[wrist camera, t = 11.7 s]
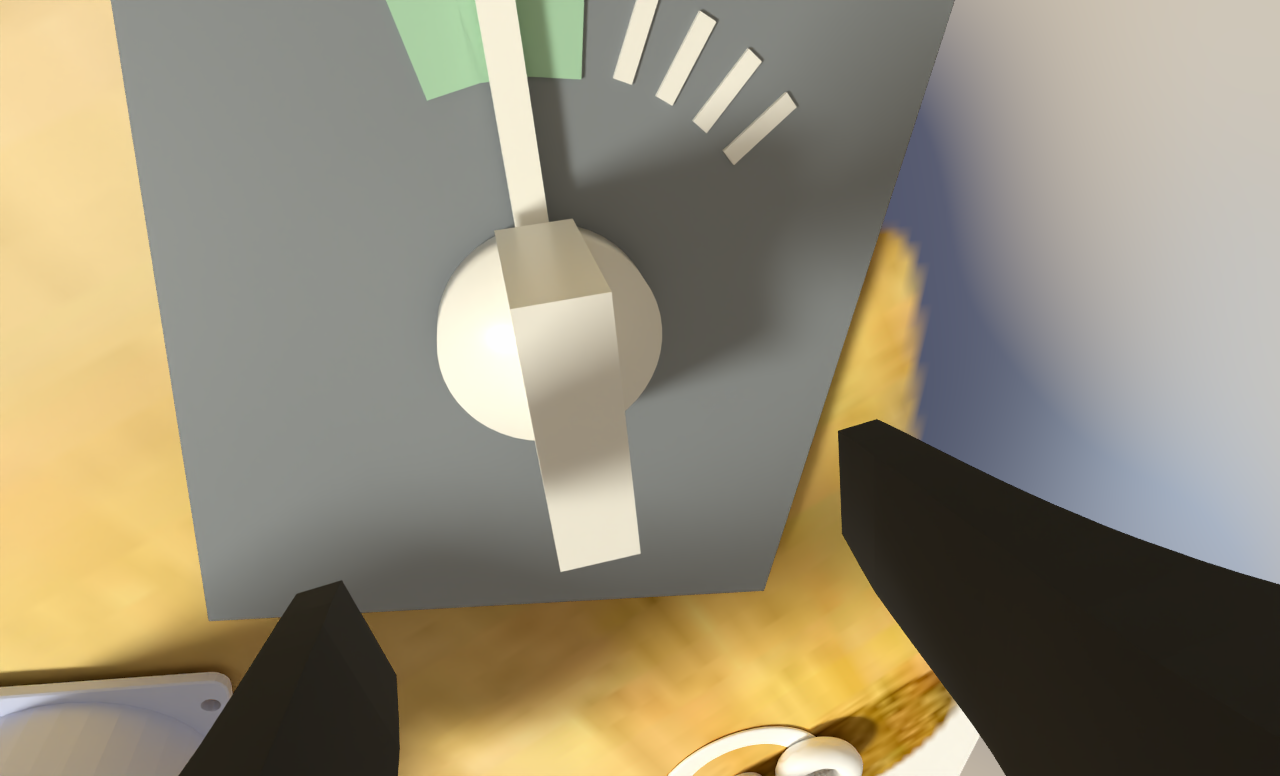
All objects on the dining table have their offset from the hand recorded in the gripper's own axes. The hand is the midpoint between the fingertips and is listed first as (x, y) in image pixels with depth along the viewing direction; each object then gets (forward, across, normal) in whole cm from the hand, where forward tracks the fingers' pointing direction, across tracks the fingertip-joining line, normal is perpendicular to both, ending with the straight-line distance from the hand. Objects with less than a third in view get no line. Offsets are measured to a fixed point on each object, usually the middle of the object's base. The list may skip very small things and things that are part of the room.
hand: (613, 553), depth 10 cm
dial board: (+9, 0, 0) cm, 9 cm away
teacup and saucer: (+10, -5, +26) cm, 29 cm away
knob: (+8, 0, -3) cm, 8 cm away
